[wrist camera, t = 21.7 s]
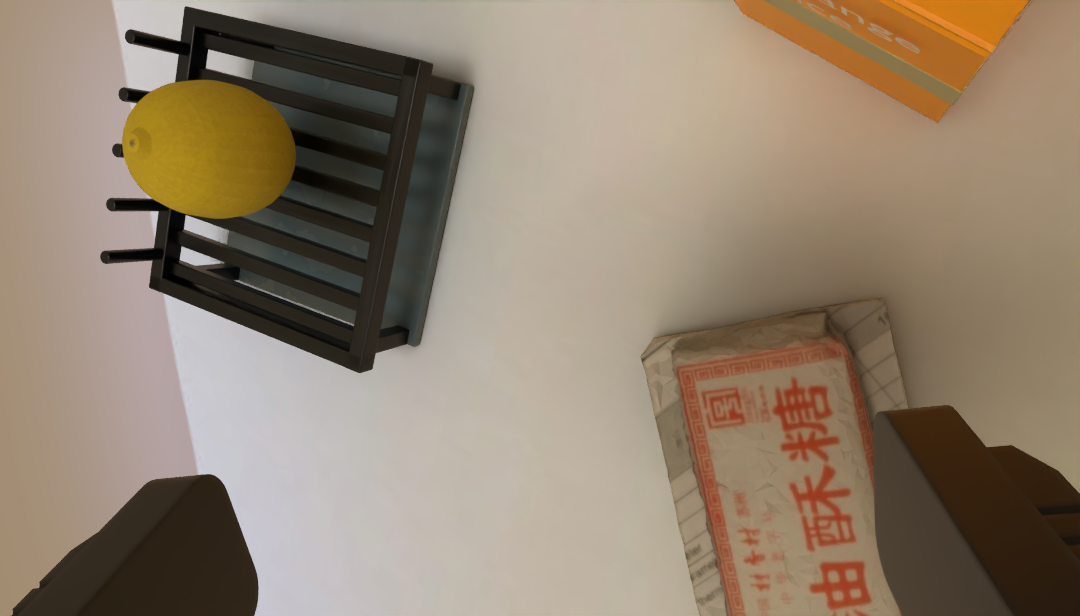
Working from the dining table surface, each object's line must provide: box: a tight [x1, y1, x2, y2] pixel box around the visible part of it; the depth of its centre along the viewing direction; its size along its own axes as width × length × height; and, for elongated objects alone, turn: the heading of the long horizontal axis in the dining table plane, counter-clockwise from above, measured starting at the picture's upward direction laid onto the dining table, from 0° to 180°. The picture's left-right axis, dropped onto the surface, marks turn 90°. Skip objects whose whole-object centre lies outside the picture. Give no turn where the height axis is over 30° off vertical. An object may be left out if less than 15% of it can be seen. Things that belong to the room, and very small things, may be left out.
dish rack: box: [100, 7, 474, 373], centre depth 36 cm, size 14×13×8 cm
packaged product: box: [641, 297, 909, 616], centre depth 31 cm, size 18×5×10 cm
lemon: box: [122, 80, 296, 219], centre depth 32 cm, size 6×6×8 cm
